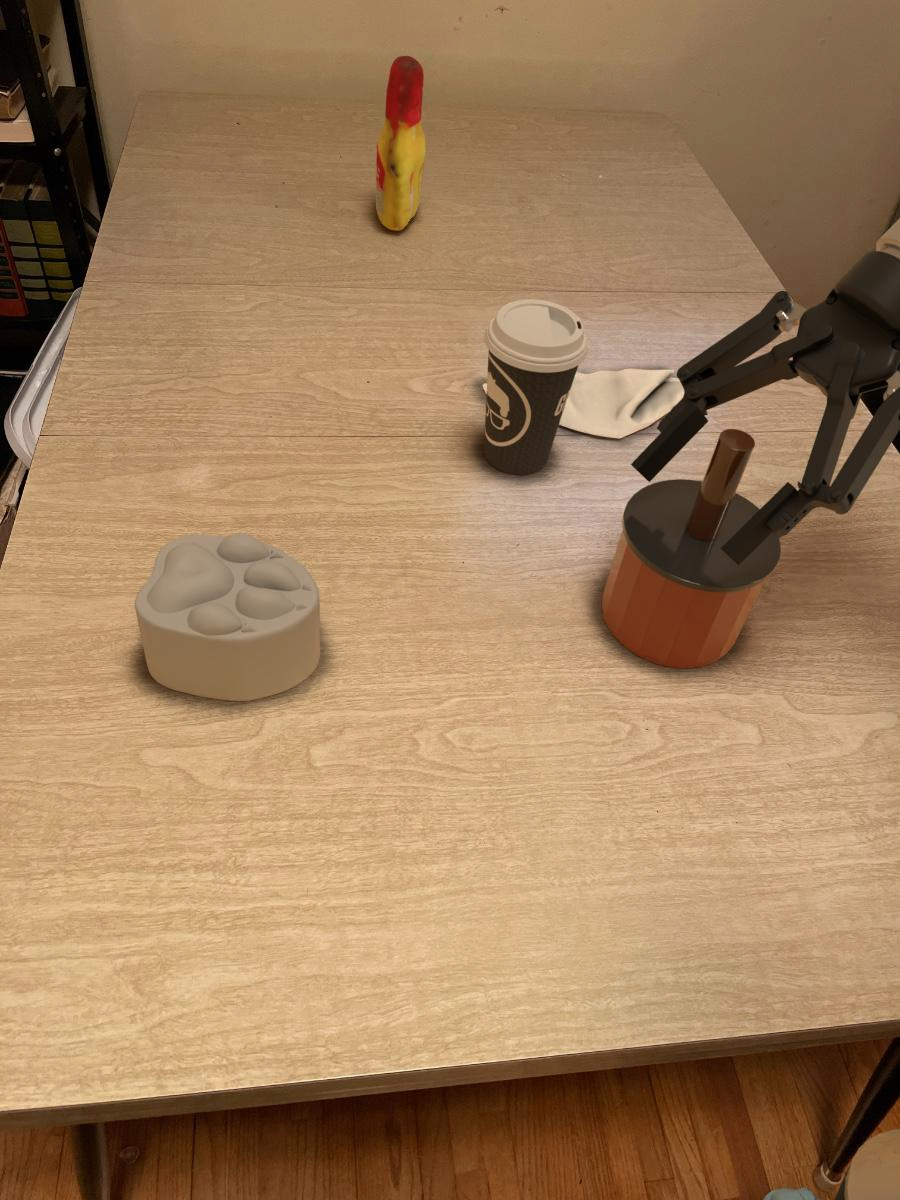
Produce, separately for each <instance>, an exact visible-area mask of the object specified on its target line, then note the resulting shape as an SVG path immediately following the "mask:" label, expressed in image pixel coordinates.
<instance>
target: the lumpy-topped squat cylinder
mask: <svg viewBox="0 0 900 1200" xmlns="http://www.w3.org/2000/svg"><path fill="white" fill-rule="evenodd" d="M320 606H321V605H320V590H319V587H318V585H317V583H316V580H315V579H314V577H313V575H312V574H311V572H310V571H309V570H308V569H307V568H306V567H305V566H304V565H303V564H302V563H301V562H300V561H298V560H297V559H296V558H294V557H293V556H291V555H289V554H288V553H286V552H285V551H283V550H281V549H280V548H278V547H276V546H273V545H269V544H267V543H263V542H262V541H261V540H260V539H258V538H257V537H255V536H253V535H251V534H248V533H243V532H242V533H241V532H239V533H237V532H236V533H232V534H229V535H228V536H219V535H210V534H189V535H183V536H180V537H177V538H175V539H172V540H171V541H169V542H167V543H165V544H164V545H163V546H162V547H161V548H160V549H159V550H158V552H157V554H156V557H155V559H154V564H153V569H152V572H151V574H150V575H149V577H148V579H147V580H146V582H145V583H144V584H143V586H142V587H141V588H139V591H138V592H137V594H136V597H135V599H134V609H135V614H136V620H137V624H138V629H139V633H140V639H141V643H142V648H143V652H144V657H145V662H146V666H147V670H148V672H149V675H150V677H151V678H152V679H153V680H154V681H156V682H157V683H158V684H159V685H161V686H163V687H165V688H168V689H169V690H172V691H176V692H180V693H184V694H188V695H192V696H196V697H201V698H208V699H214V700H220V701H221V700H222V701H231V702H248V701H254V700H259V699H262V698H267V697H271V696H275V695H278V694H281V693H283V692H286V691H288V690H291V689H292V688H294V687H296V686H297V685H299V684H301V683H302V682H304V681H306V679H308V678H309V677H310V676H311V675H312V674H313V673H314V672H315V670H316V669H317V668H318V665H319V663H320V658H321V620H320V619H321V616H320V615H321V613H320V612H321V611H320V610H321V609H320V608H321V607H320Z"/></svg>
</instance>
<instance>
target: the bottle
mask: <svg viewBox="0 0 900 1200" xmlns="http://www.w3.org/2000/svg"><path fill="white" fill-rule="evenodd" d="M389 69H390V70H389V76H388V80H387V86H386V96H385V112H384V114H385V116H384V117H385V119H384V120H385V121H384V125H383V127H382V129H381V131H380V134H379V137H378V139H377V143H376V161H375V163H376V165H375V166H376V167H375V171H376V173H375V182H376V183H375V209H376V214H377V218H378V219H379V221H380V223H381V225H383V226H384V227H385V228H386V229H388V230H391V231H396V232H398V231H399V232H400V231H402V230H404V228H405V227H406V226H408V224H409V223H410V222H409V221H411V220H412V219H413V218H414V217H415V215H416V214H417V210H418V208H417V207H419V205H420V198H421V190H422V183H423V175H424V167H425V160H426V152H427V151H426V150H427V147H426V146H427V145H426V144H427V143H426V136H425V133H424V131H423V129H422V112H423V111H422V107H423V95H424V92H423V91H424V89H423V88H424V80H425V75H424V73H425V72H424V69H423V67H422V65H421V63H420V62H419V61H418V60H417V59H416V58H414V57H413V56H410V55H401V56H398V57H396V58H395V59H394V61H393V62H392V63H391V66H390V68H389ZM412 217H413V218H412ZM411 218H412V219H411ZM410 219H411V220H410ZM381 221H382V222H381ZM408 222H409V223H408ZM406 223H407V224H406ZM402 227H403V228H402ZM395 228H398V229H395Z"/></svg>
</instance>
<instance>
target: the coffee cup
mask: <svg viewBox="0 0 900 1200" xmlns="http://www.w3.org/2000/svg"><path fill="white" fill-rule="evenodd" d="M483 340H484V343H485V346H486V347H487V349H488V352H487V353H488V356H487V357H488V358H487V378H486V383H487V395H486V397H485V399H486V400H485V420H484V437H483V438H484V439H483V456H484V457H485V460H486V461H487V462H488V463H489V464H490V465H491V466H492V467H493V468H495V469H497V470H498V471H501V472H503V473H506V474H510V475H515V476H523V475H525V476H526V475H531V474H534V473H537V472H539V471H541V470H542V469H543V468H544V467H545V466H546V465H547V462H548V459H549V456H550V453H551V450H552V448H553V444H554V441H555V438H556V435H557V432H558V430H559V429H558V428H559V426H560V425H559V423H560V420H561V417H562V414H563V411H564V408H565V404H566V401H567V398H568V395H569V392H570V389H571V386H572V383H573V380H574V377H575V374H576V372H578V368H579V366H580V365H581V364H582V363H583V362H584V361H585V360H586V358H587V356H588V353H589V343H588V338H587V334H586V332H585V330H584V324H583V321H582V320H581V318H580V317H579V316H578V315H577V314H576V313H575V312H574V311H572V310H571V309H569V308H567V307H565V306H563V305H561V304H558V303H556V302H553V301H549V300H542V299H535V298H534V299H518V300H514V301H511V302H509V303H506V304H505V305H503V306H502V307H501V308H499V309H498V311H497V313H496V315H494V316H493V317H492V319H490V322H489V323H488V325H487V327H486V329H485V332H484V336H483Z"/></svg>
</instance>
